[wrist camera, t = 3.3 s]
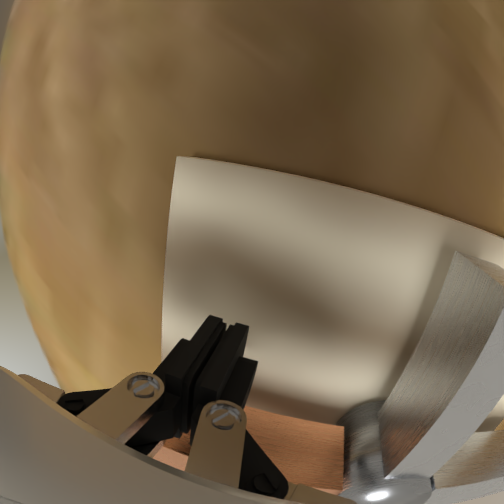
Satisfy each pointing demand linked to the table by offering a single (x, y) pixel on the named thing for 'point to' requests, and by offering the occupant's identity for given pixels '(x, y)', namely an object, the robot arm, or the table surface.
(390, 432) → the capstan
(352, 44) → the table surface
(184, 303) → the base plate
